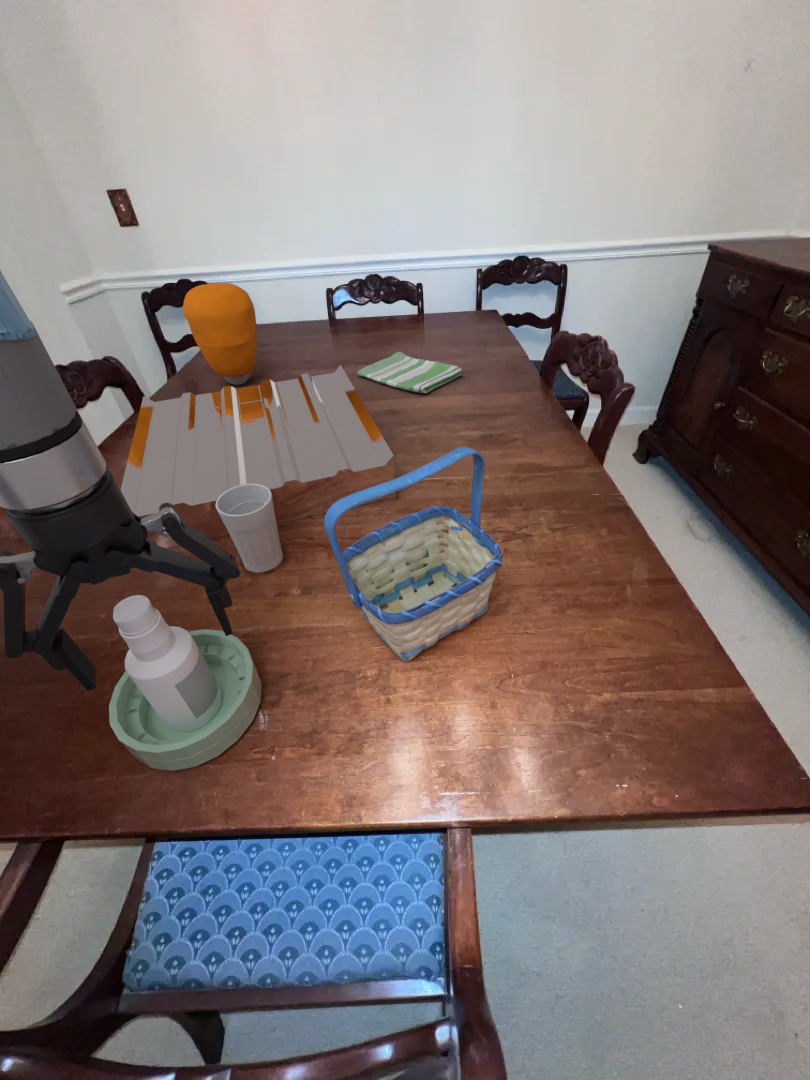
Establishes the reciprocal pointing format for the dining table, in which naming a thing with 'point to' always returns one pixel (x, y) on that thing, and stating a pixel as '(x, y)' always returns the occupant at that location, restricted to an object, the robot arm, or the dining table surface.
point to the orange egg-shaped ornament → (224, 328)
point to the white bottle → (167, 666)
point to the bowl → (192, 748)
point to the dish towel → (410, 373)
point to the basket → (419, 563)
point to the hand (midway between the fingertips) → (162, 651)
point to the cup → (252, 525)
